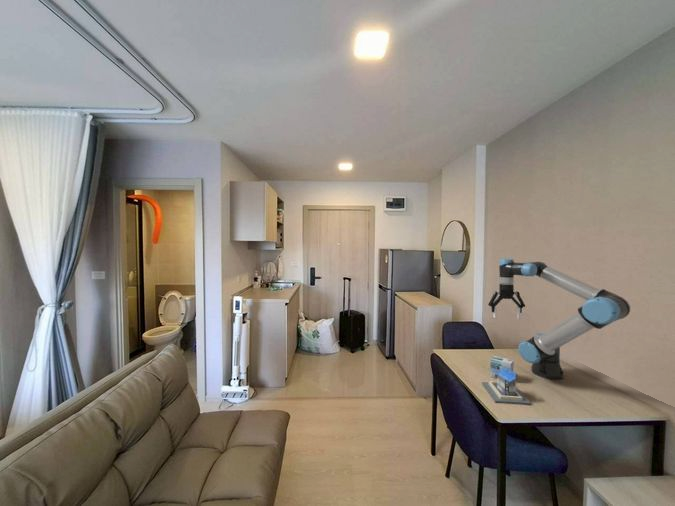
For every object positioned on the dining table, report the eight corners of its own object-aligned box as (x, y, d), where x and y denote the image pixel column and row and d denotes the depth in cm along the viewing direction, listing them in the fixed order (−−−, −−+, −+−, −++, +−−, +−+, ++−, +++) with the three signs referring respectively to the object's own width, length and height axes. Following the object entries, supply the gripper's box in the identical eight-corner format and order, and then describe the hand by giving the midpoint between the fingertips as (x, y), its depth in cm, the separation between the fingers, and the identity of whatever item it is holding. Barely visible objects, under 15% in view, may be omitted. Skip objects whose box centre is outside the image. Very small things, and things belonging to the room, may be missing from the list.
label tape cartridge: (496, 388, 143) (496, 366, 143) (503, 388, 143) (503, 365, 143) (509, 398, 134) (509, 374, 134) (516, 397, 135) (516, 373, 134)
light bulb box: (490, 376, 158) (490, 358, 158) (493, 372, 163) (492, 355, 163) (511, 382, 151) (511, 363, 150) (513, 378, 156) (513, 359, 155)
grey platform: (513, 385, 148) (513, 381, 148) (531, 405, 130) (531, 400, 130) (481, 383, 150) (481, 379, 150) (495, 402, 132) (495, 397, 132)
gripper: (525, 282, 168) (525, 316, 169) (482, 282, 172) (482, 315, 173) (531, 284, 161) (531, 319, 162) (487, 284, 165) (487, 318, 166)
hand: (506, 317), depth 167 cm, fingers open, 13 cm apart
